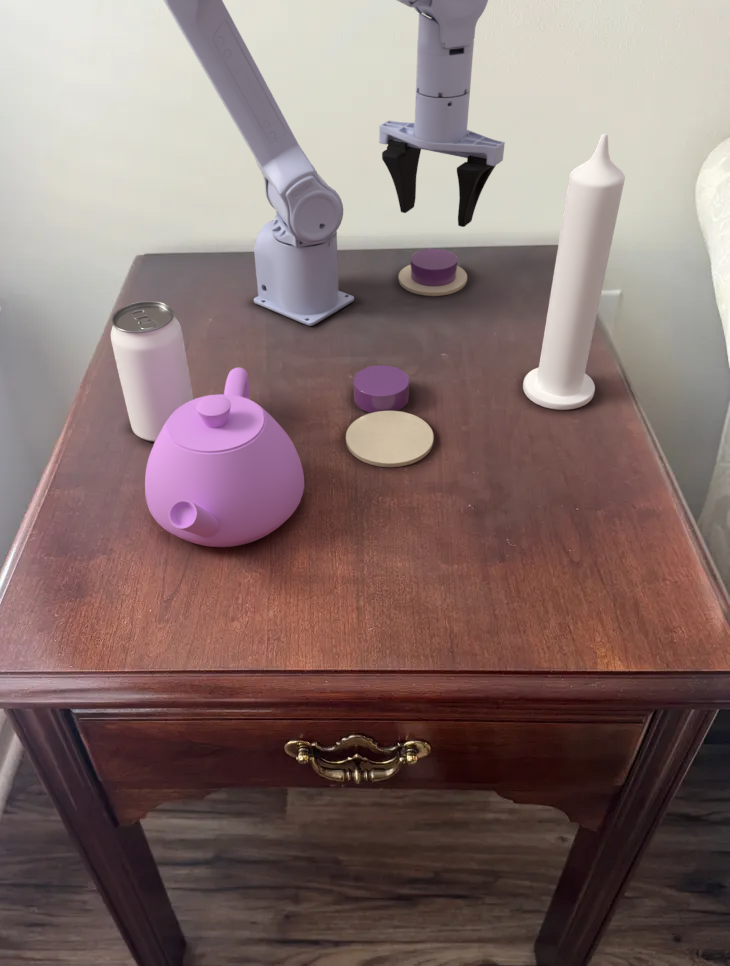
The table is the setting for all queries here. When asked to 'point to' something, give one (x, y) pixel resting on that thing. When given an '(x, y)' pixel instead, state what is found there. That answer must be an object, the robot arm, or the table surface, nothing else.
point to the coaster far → (432, 290)
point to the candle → (577, 283)
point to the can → (150, 364)
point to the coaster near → (389, 438)
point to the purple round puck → (433, 267)
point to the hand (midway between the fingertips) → (435, 216)
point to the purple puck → (381, 388)
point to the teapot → (223, 470)
